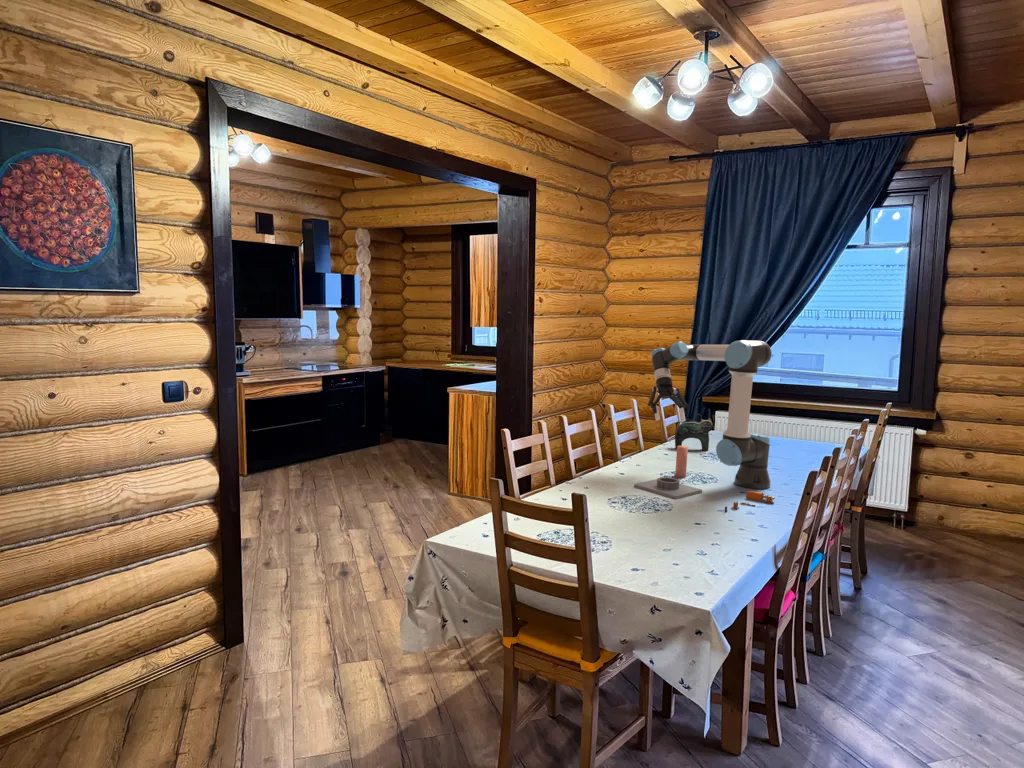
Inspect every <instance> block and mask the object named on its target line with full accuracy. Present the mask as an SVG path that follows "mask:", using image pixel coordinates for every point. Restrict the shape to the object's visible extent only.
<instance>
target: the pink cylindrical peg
mask: <svg viewBox="0 0 1024 768" xmlns="http://www.w3.org/2000/svg"><path fill="white" fill-rule="evenodd" d="M688 451H689V447H688V446H687V445H682V446H677V449H676V457H675V458H676V459H675V474H674V476H675V478H681V479H683V478H686V477H687V466H688V464H687V463H688Z"/></svg>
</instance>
